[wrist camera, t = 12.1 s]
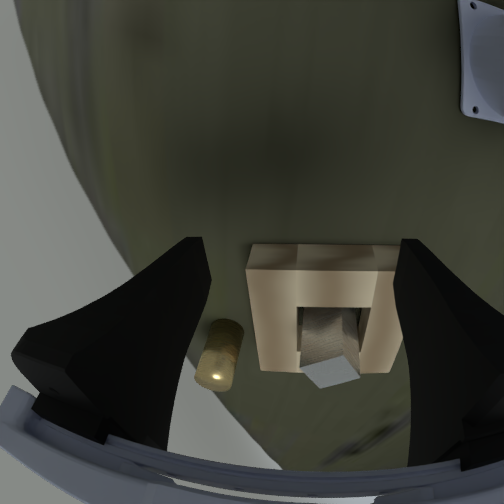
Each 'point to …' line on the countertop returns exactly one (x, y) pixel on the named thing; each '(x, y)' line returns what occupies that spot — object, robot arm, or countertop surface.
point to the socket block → (323, 298)
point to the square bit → (330, 345)
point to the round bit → (220, 355)
